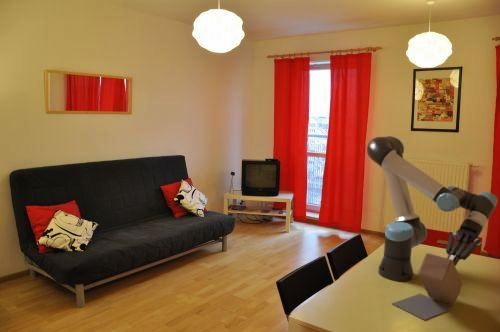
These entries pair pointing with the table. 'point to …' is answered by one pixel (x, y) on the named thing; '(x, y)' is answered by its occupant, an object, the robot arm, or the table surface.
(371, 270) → the table surface
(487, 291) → the table surface
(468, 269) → the table surface
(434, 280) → the wooden block
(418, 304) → the mat
